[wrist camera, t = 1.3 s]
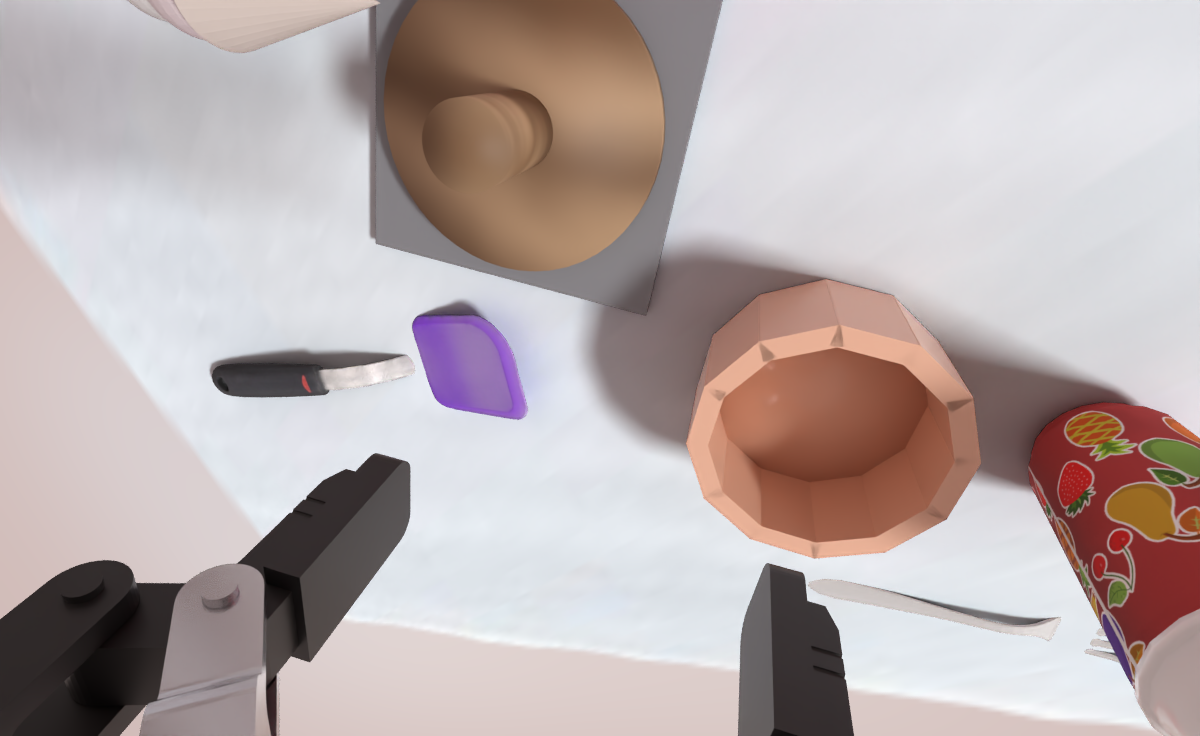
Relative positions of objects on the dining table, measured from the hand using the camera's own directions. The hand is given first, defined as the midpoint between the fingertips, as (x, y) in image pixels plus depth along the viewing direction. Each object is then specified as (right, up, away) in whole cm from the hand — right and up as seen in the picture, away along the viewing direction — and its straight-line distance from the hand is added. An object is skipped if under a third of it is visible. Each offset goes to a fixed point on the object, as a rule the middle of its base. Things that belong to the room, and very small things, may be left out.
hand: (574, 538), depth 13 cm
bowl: (+12, +2, +20) cm, 24 cm away
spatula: (-15, +4, +27) cm, 31 cm away
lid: (-3, +16, +17) cm, 23 cm away
